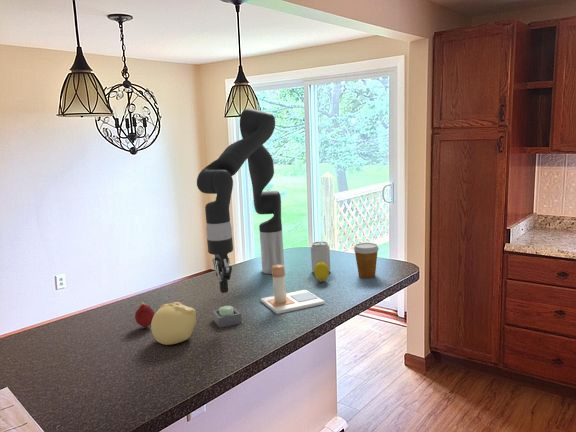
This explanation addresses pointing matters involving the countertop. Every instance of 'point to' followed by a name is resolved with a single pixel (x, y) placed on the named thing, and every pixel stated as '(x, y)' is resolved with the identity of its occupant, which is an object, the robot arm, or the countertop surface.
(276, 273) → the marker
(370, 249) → the disposable coffee cup
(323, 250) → the can
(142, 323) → the onion
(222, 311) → the button
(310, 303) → the picture board
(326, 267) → the lemon
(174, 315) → the pale yellow lumpy ball
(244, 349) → the countertop surface
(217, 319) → the button housing
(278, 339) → the countertop surface
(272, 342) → the countertop surface
